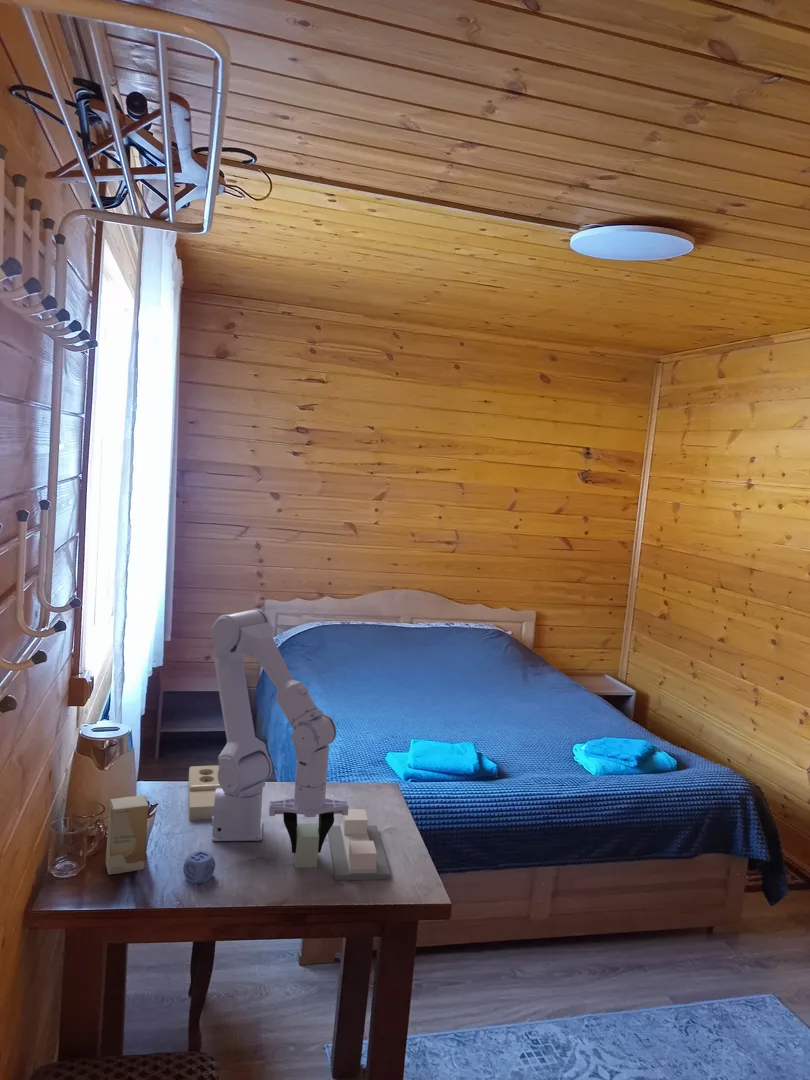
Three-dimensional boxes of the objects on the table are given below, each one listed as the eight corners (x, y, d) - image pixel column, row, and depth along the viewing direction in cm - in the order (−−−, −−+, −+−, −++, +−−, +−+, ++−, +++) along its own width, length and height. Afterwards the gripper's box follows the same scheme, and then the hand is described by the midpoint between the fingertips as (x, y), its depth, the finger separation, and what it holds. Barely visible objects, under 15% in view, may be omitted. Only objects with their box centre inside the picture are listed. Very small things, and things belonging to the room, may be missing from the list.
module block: (295, 867, 144) (297, 837, 143) (294, 853, 149) (296, 823, 148) (316, 867, 145) (319, 836, 144) (315, 853, 150) (317, 823, 149)
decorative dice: (215, 875, 140) (216, 854, 139) (200, 886, 136) (201, 865, 135) (196, 869, 141) (198, 848, 141) (182, 879, 137) (183, 858, 137)
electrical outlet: (190, 802, 158) (189, 765, 175) (189, 822, 158) (188, 783, 175) (226, 801, 160) (222, 764, 177) (225, 819, 160) (221, 781, 177)
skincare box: (108, 876, 137) (110, 809, 135) (105, 863, 140) (107, 798, 139) (146, 869, 140) (149, 804, 138) (142, 857, 143) (145, 793, 142)
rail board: (335, 880, 141) (337, 855, 140) (327, 830, 159) (329, 808, 158) (389, 879, 143) (392, 854, 142) (376, 830, 160) (377, 807, 160)
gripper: (271, 790, 140) (266, 862, 141) (352, 790, 142) (346, 860, 144) (271, 773, 147) (266, 842, 148) (348, 774, 149) (343, 841, 151)
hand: (306, 850), depth 147 cm, fingers closed on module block, 4 cm apart
